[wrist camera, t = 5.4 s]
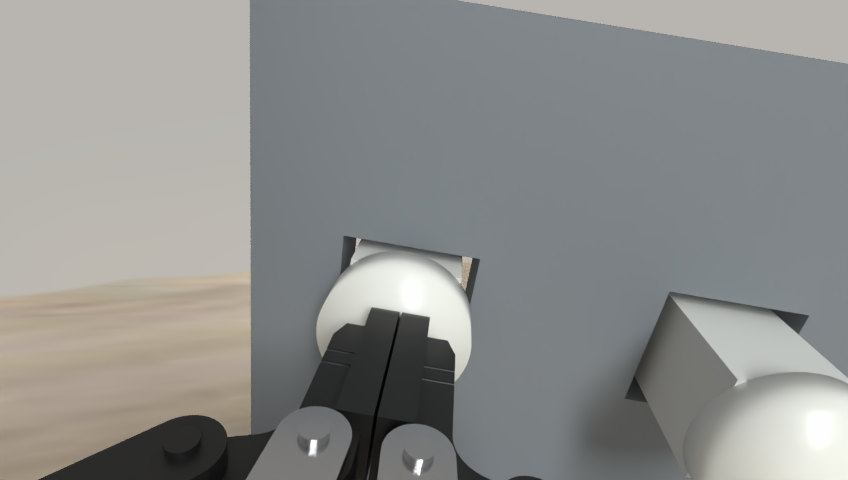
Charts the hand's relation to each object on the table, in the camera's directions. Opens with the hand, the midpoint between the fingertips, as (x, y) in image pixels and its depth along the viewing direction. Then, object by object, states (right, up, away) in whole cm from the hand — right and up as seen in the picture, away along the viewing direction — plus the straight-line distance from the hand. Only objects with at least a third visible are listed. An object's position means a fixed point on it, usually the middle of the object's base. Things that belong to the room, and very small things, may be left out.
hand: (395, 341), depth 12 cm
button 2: (0, 0, +5) cm, 5 cm away
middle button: (+9, -2, +3) cm, 10 cm away
